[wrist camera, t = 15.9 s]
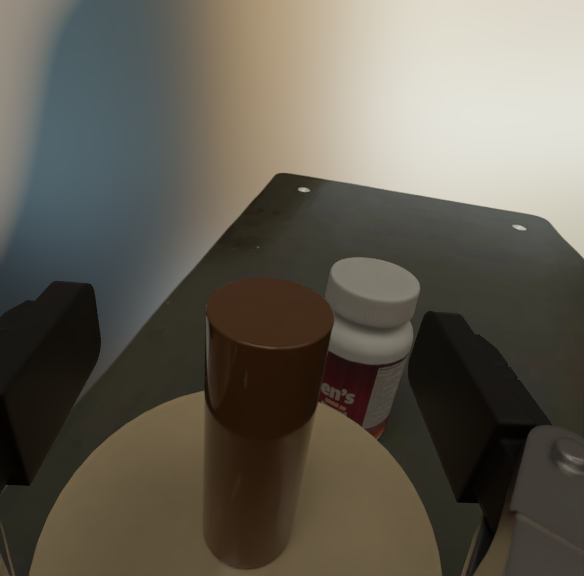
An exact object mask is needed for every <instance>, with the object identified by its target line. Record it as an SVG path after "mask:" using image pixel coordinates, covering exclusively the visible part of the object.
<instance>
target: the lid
mask: <svg viewBox="0 0 584 576" xmlns="http://www.w3.org/2000/svg"><path fill="white" fill-rule="evenodd" d="M333 326H334V314H333V311H332V308H331V306H330V305H329V303H328V302H327V301H326V300H325V299H324V298H323V297H322V296H321V295H320V294H318V293H317V292H315V291H314V290H312V289H310V288H308V287H306V286H303V285H301V284H298V283H295V282H292V281H288V280H283V279H276V278H248V279H242V280H238V281H234V282H231V283H229V284H226V285H224V286H222V287H221V288H219V289H218V290H216V291H215V292H214V293H213V294H212V295H211V297H210V298H209V300H208V302H207V305H206V323H205V385H204V391H200V392H197V393H193V394H189V395H185V396H182V397H179V398H176V399H174V400H171V401H168V402H166V403H163V404H161V405H159V406H157V407H155V408H153V409H151V410H149V411H147V412H145V413H143V414H141V415H140V416H138V417H137V418H135V419H133V420H132V421H130V422H128V423H127V424H125V425H124V426H123V427H122V428H120V429H119V430H118V431H116V432H115V433H114V434H112V435H111V436H110V437H108V438H107V439H106V440H105V441H104V442H103V443H102V444H101V445H100V446H99V447H98V448H97V449H96V450H94V451H93V452H92V453H91V455H90V456H89V457H88V458H87V459H86V460H85V461H84V462H83V464H82V465H81V466H80V467H79V468H78V469H77V470H76V472H75V473H74V475H73V476H72V477H71V479H70V480H69V482H68V483H67V485H66V486H65V487H64V489H63V490H62V492H61V493H60V495H59V497H58V499H57V501H56V503H55V504H54V506H53V508H52V510H51V512H50V513H49V515H48V517H47V520H46V522H45V525H44V527H43V530H42V532H41V535H40V537H39V540H38V542H37V545H36V549H35V553H34V556H33V560H32V564H31V568H30V571H29V576H442V571H441V564H440V557H439V551H438V548H437V544H436V540H435V536H434V532H433V529H432V526H431V523H430V521H429V518H428V516H427V513H426V510H425V508H424V505H423V503H422V501H421V499H420V498H419V496H418V494H417V492H416V490H415V488H414V486H413V484H412V483H411V481H410V480H409V478H408V477H407V475H406V474H405V472H404V471H403V469H402V468H401V466H400V465H399V464H398V463H397V461H396V460H395V459H394V458H393V457H392V455H391V454H390V453H389V452H388V451H387V449H386V448H385V447H383V446H382V445H381V444H380V443H379V442H378V441H377V440H376V439H375V438H374V437H373V436H372V435H371V434H370V433H368V432H367V431H366V430H365V429H364V428H362V427H361V426H360V425H359V424H357V423H356V422H354V421H353V420H351V419H350V418H348V417H347V416H345V415H343V414H342V413H340V412H338V411H336V410H334V409H332V408H331V407H329V406H327V405H325V404H322V403H320V402H318V400H319V395H320V390H321V385H322V380H323V375H324V370H325V365H326V360H327V355H328V350H329V346H330V341H331V336H332V331H333Z"/></svg>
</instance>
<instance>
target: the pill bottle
mask: <svg viewBox="0 0 584 576" xmlns="http://www.w3.org/2000/svg"><path fill="white" fill-rule="evenodd" d="M419 292H420V285H419V282H418V280H417V279H416V278H415V277H414V276H413V275H412V274H411V273H410V272H408V271H407V270H405V269H404V268H402V267H400V266H397V265H395V264H392V263H390V262H386V261H383V260H378V259H372V258H362V257H355V258H347V259H343V260H340V261H338V262H336V263H335V264H334V265H333V266H332V268H331V270H330V274H329V279H328V284H327V288H326V293H325V300H326V301H327V302H328V303H329V305H330V306H331V308H332V311H333V314H334V326H333V331H332V336H331V341H330V346H329V350H328V355H327V360H326V365H325V370H324V375H323V380H322V385H321V390H320V395H319V400H318V402H320V403H322V404H325V405H327V406H329V407H331V408H332V409H334V410H336V411H338V412H340V413H342V414H343V415H345V416H347V417H348V418H350V419H351V420H353V421H354V422H356V423H357V424H359V425H360V426H361V427H362V428H364V429H365V430H366V431H367V432H368V433H370V434H371V435H372V436H373V437H374V438H375V439H376V440H377V439H378V438H379V437H380V436H381V434H382V432H383V430H384V427H385V424H386V422H387V419H388V416H389V413H390V410H391V406H392V403H393V400H394V397H395V394H396V391H397V388H398V385H399V382H400V379H401V375H402V372H403V369H404V366H405V363H406V360H407V357H408V354H409V351H410V349H411V345H412V341H413V328H412V325H411V322H410V319H411V318H412V317H413V314H414V311H415V307H416V303H417V299H418V296H419Z"/></svg>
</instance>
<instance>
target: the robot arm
mask: <svg viewBox="0 0 584 576" xmlns="http://www.w3.org/2000/svg"><path fill="white" fill-rule="evenodd" d="M100 346H101V337H100V330H99V322H98V315H97V307H96V300H95V293H94V289H93V287H92V285H91V284H88V283H76V282H64V281H54V282H52V283H51V284H50V285H49V286H48V287H47V288H46V290H45V291H44V292H43V293H42V294H41V295H40V296H39V297H38V298H37V300H36V301H28V300H27V301H25V302H24V303H22V304H20V305H18V306H16V307H14V308H12V309H11V310H9V311H7V312H5V313H4V314H3V315H2V316H1V317H0V493H1V492H2V490H3V488H4V487H5V485H26V486H30V484H31V482H32V481H33V479H34V477H35V475H36V473H37V471H38V470H39V468H40V466H41V464H42V462H43V460H44V459H45V457H46V455H47V453H48V451H49V449H50V448H51V446H52V444H53V442H54V440H55V438H56V437H57V435H58V433H59V431H60V429H61V427H62V426H63V424H64V422H65V420H66V418H67V416H68V415H69V413H70V411H71V409H72V407H73V405H74V403H75V402H76V400H77V398H78V396H79V394H80V392H81V390H82V389H83V387H84V385H85V383H86V381H87V380H88V378H89V376H90V374H91V372H92V370H93V369H94V367H95V365H96V363H97V360H98V357H99V353H100ZM408 378H409V383H410V386H411V388H412V391H413V393H414V396H415V398H416V401H417V403H418V406H419V408H420V411H421V413H422V416H423V418H424V421H425V423H426V426H427V428H428V431H429V433H430V436H431V438H432V441H433V443H434V446H435V448H436V451H437V453H438V456H439V458H440V461H441V463H442V466H443V468H444V471H445V473H446V476H447V478H448V481H449V483H450V486H451V488H452V491H453V493H454V496H455V498H456V501H457V502H460V503H479V505H480V507H481V509H482V511H483V514H482V516H481V517H480V519H479V521H478V524H477V527H476V530H475V533H474V536H473V540H472V543H471V546H470V549H469V552H468V555H467V558H466V562H465V565H464V568H463V571H462V574H461V576H584V438H583V437H581V436H579V435H577V434H576V433H574V432H571V431H569V430H567V429H564V428H561V427H557V426H553V425H552V424H551V422H550V421H549V420H548V418H547V417H546V416H545V414H544V413H543V411H542V410H541V409H540V407H539V406H538V405H537V403H536V402H535V400H534V399H533V398H532V396H531V395H530V394H529V392H528V391H527V389H526V388H525V387H524V385H523V384H522V383H521V381H520V380H517V376H516V374H515V373H514V372H513V370H512V369H511V367H508V363H507V362H506V361H505V359H504V358H503V356H502V355H501V354H500V352H499V351H498V350H497V348H495V347H494V346H493V345H492V344H490V343H489V342H488V341H486V340H485V339H484V338H483V337H481V336H480V335H476V334H474V333H473V331H472V330H471V328H470V327H469V325H468V324H467V322H466V321H465V319H464V318H463V317H462V315H460V314H458V313H448V312H435V311H428V312H427V313H426V314H425V315H424V317H423V320H422V322H421V325H420V329H419V332H418V335H417V338H416V341H415V344H414V347H413V350H412V353H411V356H410V359H409V364H408ZM0 576H15V574H14V570H13V566H12V562H11V558H10V554H9V550H8V546H7V542H6V538H5V534H4V530H3V526H2V522H1V518H0Z"/></svg>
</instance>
